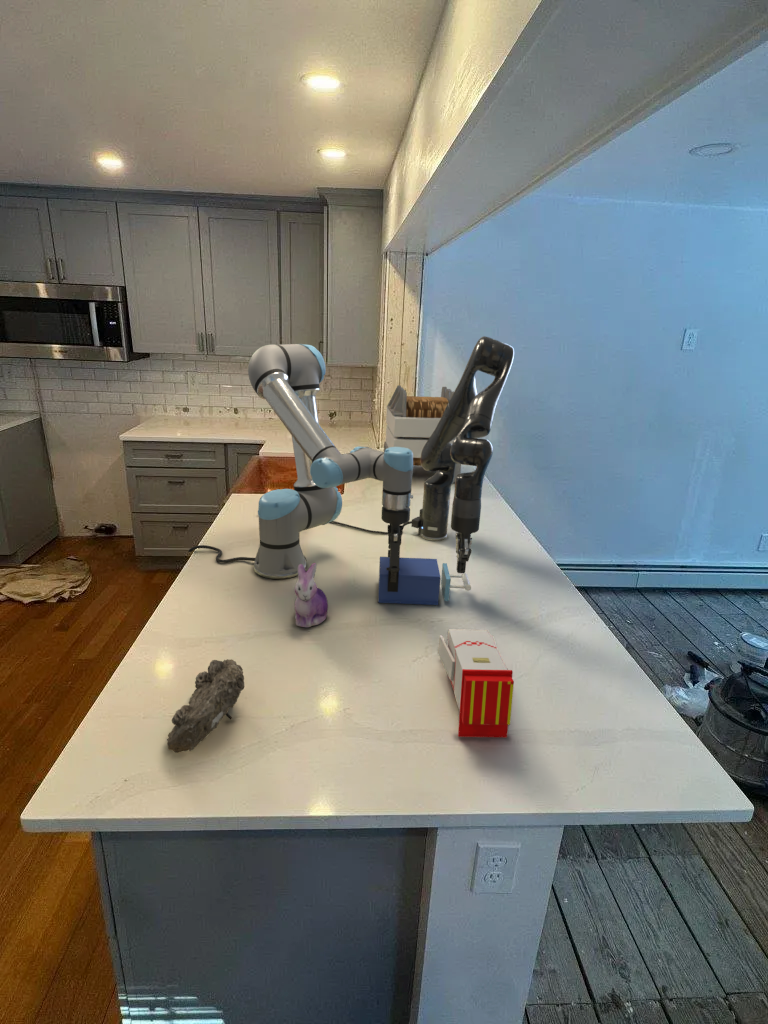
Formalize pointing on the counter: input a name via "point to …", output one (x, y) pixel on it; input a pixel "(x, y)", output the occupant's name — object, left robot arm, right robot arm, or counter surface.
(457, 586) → the drawer
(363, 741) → the counter surface
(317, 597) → the figurine
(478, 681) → the toy
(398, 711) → the counter surface
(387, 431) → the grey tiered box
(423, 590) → the cabinet
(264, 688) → the counter surface
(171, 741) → the fossil
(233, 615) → the counter surface
